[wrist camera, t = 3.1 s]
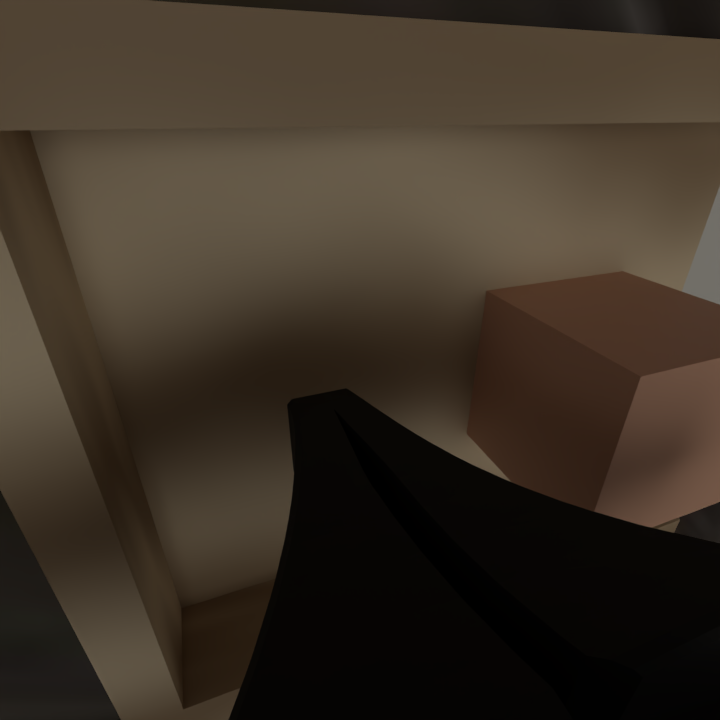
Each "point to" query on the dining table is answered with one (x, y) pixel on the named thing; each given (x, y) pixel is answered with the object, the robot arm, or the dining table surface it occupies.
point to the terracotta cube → (602, 394)
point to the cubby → (285, 272)
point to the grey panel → (707, 260)
